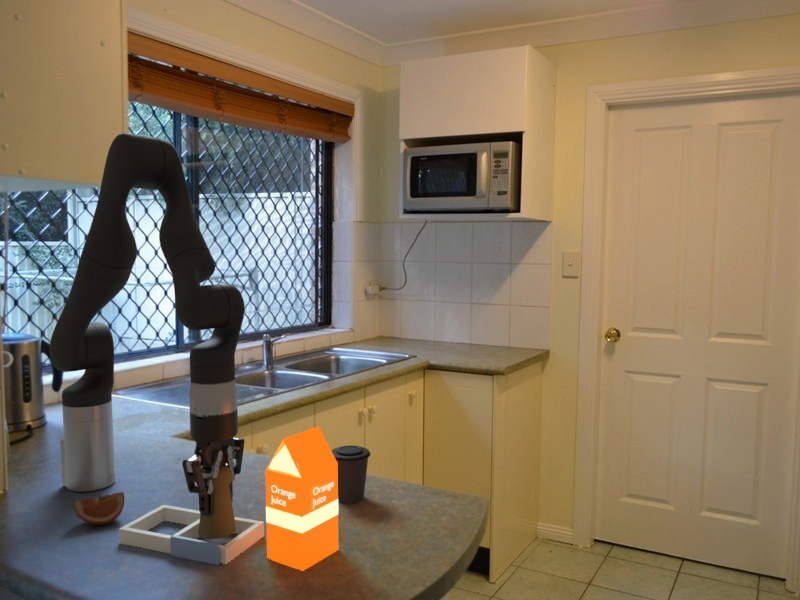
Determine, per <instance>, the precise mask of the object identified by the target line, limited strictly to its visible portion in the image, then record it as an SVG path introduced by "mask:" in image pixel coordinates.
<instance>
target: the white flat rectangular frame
mask: <svg viewBox="0 0 800 600" xmlns="http://www.w3.org/2000/svg"><path fill="white" fill-rule="evenodd" d="M234 519H235V525H236V531H235V532H234V533H233V535H236V537H234V538H233V539H231V540H229V541H228V542H227V543H226V544H220V543H218V542H212V541H208V540H201V539H199V538H201V537H200V536H199V533H198V531H199V522H200V511H199V510H197V509H196V510H195V509H190V508H186V507H180V506H173V505H167V504H162V505H161V506H159V507H156V508H154V509H153V510H151V511H149V512H147V513H145V514H143V515H142V516H140V517H138V518H137V519H135V520H132V521H131V522H130V521H129V523H127V524H125V525H123V526H122V527H119V528H118V543H119V544H120V545H126V546H131V547H136V546H137V547H136V548H140V547H141V549H145V550H151V551H156V552H161V553H165V554H170V556H171V557H174V558H175V557H176V558H181V559H186V560H189V561H190V560H191V561H195V562H199V563H200V562H201V563H205V564H209V565H214V564H215V565H214V566H219V565H225V564H226V565H227V563H228V562H229V563H230V562H231V560H232V561H233V560H234V559H235V557H236V558H237V557H239V555H241V554H242V553H244V552H245V551H247V549H249V548H250V547H252V546H253V545H254V544H256V543H257V542H258V541H260V540H261V539H262V538H263V537H265V521H261V520H255V519H250V518H244V517H239V516H238V517H237V516H234ZM163 521H164V522H167V521H170V522H169V523H173V522H175V523H174V524H178V523H180V524H179V525H184V526H185V527H184V528H182V529H181V530H179V531H177V532H176V533H174V534H172V535H170V534H165V533H158V532H155V531H150V530H152V529H154V528H155V527H157V526H158V524H159V523H160V524H162V523H164V522H163ZM161 522H162V523H161ZM160 524H159V525H160ZM156 525H157V526H156ZM154 526H155V527H154ZM151 528H152V529H151ZM149 529H150V530H149ZM240 553H241V554H240ZM220 563H222V564H220ZM229 563H228V564H229Z"/></svg>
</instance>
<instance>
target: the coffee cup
mask: <svg viewBox="0 0 800 600" xmlns="http://www.w3.org/2000/svg"><path fill="white" fill-rule="evenodd" d="M331 451H332V453H333V455H334V457H335V459H336V461H337V463H338V503H341V504H347V505H349V504H350V505H352V504H357V503H361V502H363V500H364V498H365V491H366V480H367V473H368V472H367V470H368V463H369V457H370V456H371V452H370V450H369V449H368V448H366V447H363V446H360V445H343V446H339V447H335V448H333V449H331Z"/></svg>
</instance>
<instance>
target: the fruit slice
mask: <svg viewBox="0 0 800 600" xmlns="http://www.w3.org/2000/svg"><path fill="white" fill-rule="evenodd" d="M72 504H73V510H72V511H73V512H74V513H75V515H76V517H77V518H78V519H80V520H82V521H83V522H85V523H86V524H90V525H93V526H94V525H95V526H104V525H108V524H110V523H112V522H113V521H115V520H117V519H118V517H119V516H120V515H121V514H122V512H123V509H124V505H125V493H124V492H123V491H121V492H116V493H112V494H105V495H101V496H100V495H99V496H98V497H96V498H86V499H79V500H73V501H72Z"/></svg>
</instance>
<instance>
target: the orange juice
mask: <svg viewBox="0 0 800 600" xmlns="http://www.w3.org/2000/svg"><path fill="white" fill-rule="evenodd" d="M331 450H332V449H331V447H330V445H329V444H328V441H327V439H326V437H325V435H324V433H323V431H322V429H321V427H320V426H319V425H318V426H316V427H312V428H310V429H307V430H305V431H301V432H299V433H296V434H293V435H290V436H287V437H284V438H282V441H281V443H280V445H279V447H278V448H277V449H276V451H275V453H274V455H273V457H272V458H271V460H270V462H269V464H268V465H267V467H266V469H265V470H264V471H265V523H266V559H267V558H269V559H268V560H270V559H271V561H273V562H275V563H276V562H277V563H278V564H282V565H284V566H287V567H290V568H293V569H295V570H298V569H299V571H302V572H304V571H306V570H307V569H309V568H310V567H313V566H314V565H316V564H317V563H319V562H321V561H323V560H324V559H325V558H327V557H329V556H330V555H332V554H334V553H336V552H337V551H339V550H340V549H339V548H340V547H339V502H338V463H337V461H336V459H335V457H334V455H333V453H332V451H331ZM305 569H306V570H305Z"/></svg>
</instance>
